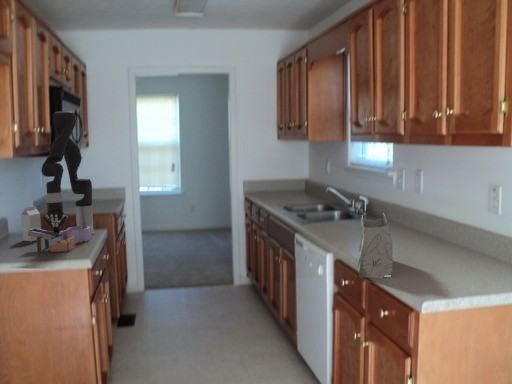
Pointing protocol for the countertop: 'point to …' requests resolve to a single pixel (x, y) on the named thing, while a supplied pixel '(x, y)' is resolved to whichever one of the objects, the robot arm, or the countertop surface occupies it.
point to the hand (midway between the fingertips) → (56, 233)
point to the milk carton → (30, 222)
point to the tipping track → (43, 234)
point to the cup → (63, 245)
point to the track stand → (40, 244)
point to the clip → (77, 233)
